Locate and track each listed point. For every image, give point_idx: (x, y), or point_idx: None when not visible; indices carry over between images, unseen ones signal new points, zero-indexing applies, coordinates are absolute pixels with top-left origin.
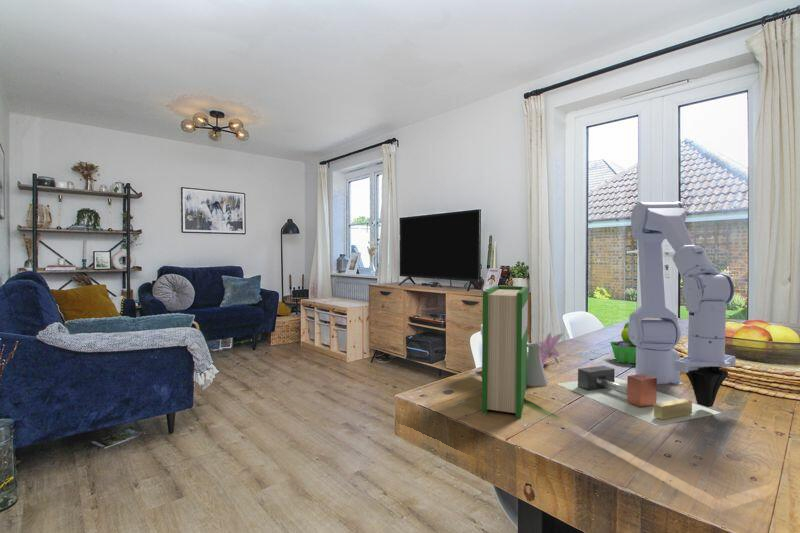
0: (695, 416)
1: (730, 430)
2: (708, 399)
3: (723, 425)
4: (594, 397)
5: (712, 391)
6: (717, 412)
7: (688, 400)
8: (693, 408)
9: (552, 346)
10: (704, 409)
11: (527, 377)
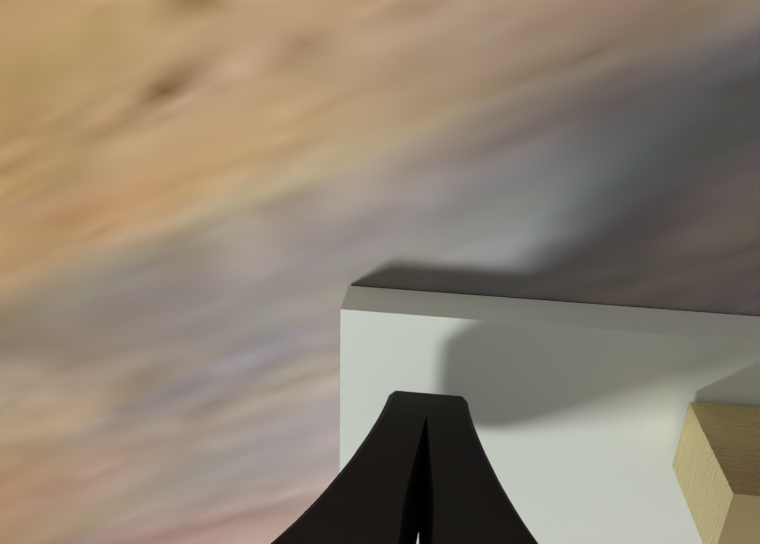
0: (700, 361)
1: (614, 84)
2: (479, 447)
3: (530, 183)
4: None
5: (453, 499)
6: (369, 330)
7: (738, 521)
8: None
9: None
10: None
11: None
